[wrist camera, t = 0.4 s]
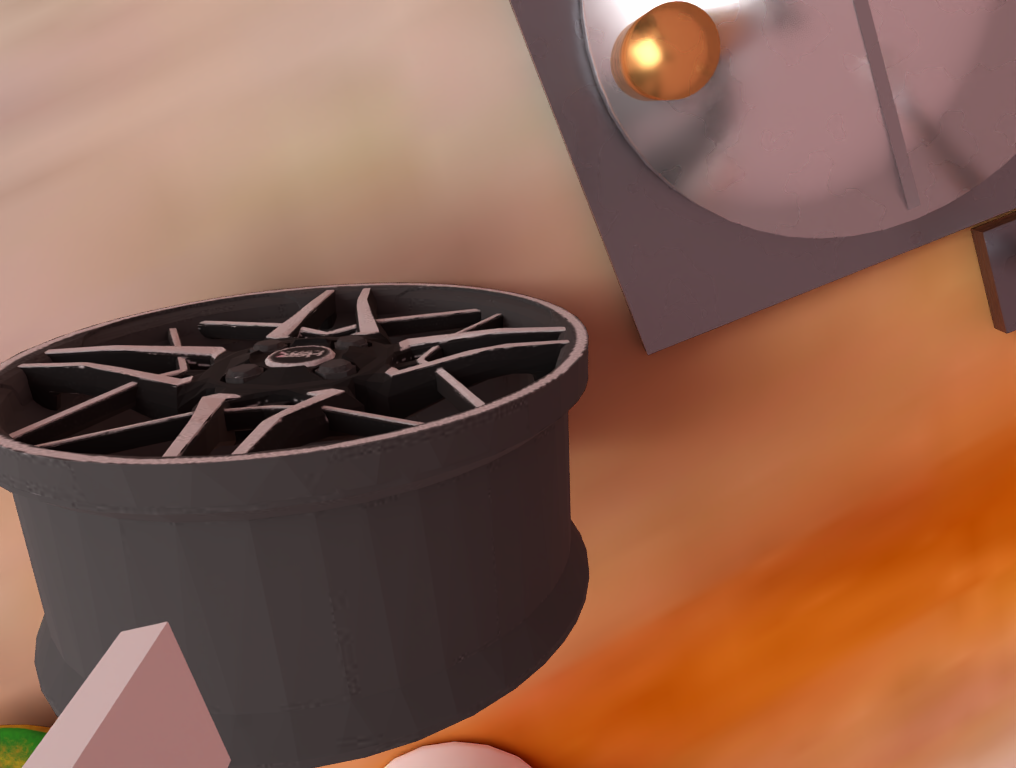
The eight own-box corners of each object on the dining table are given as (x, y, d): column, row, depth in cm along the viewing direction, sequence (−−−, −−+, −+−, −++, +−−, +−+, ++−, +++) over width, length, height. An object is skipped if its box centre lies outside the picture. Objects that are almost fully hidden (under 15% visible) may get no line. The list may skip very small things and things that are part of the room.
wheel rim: (567, 274, 37) (628, 445, 18) (571, 455, 40) (627, 764, 21) (137, 293, 38) (-239, 482, 19) (172, 472, 41) (-122, 791, 22)
